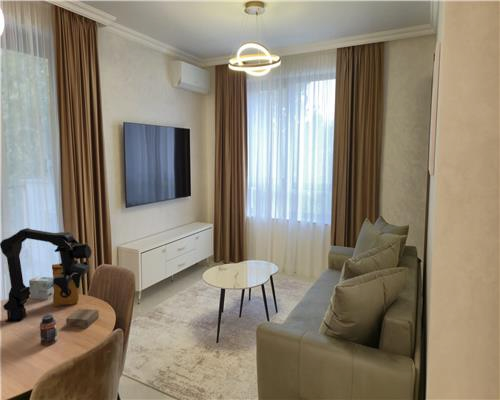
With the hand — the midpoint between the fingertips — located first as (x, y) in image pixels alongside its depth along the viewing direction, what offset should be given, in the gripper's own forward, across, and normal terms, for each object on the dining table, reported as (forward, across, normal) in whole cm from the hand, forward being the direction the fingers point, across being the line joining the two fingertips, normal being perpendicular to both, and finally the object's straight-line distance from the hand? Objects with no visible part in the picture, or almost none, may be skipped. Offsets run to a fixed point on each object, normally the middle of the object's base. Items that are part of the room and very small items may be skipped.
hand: (73, 291), depth 163 cm
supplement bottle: (+14, -20, +2) cm, 25 cm away
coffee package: (+13, +19, +15) cm, 27 cm away
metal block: (+15, -2, -4) cm, 15 cm away
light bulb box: (+11, +26, +32) cm, 43 cm away
